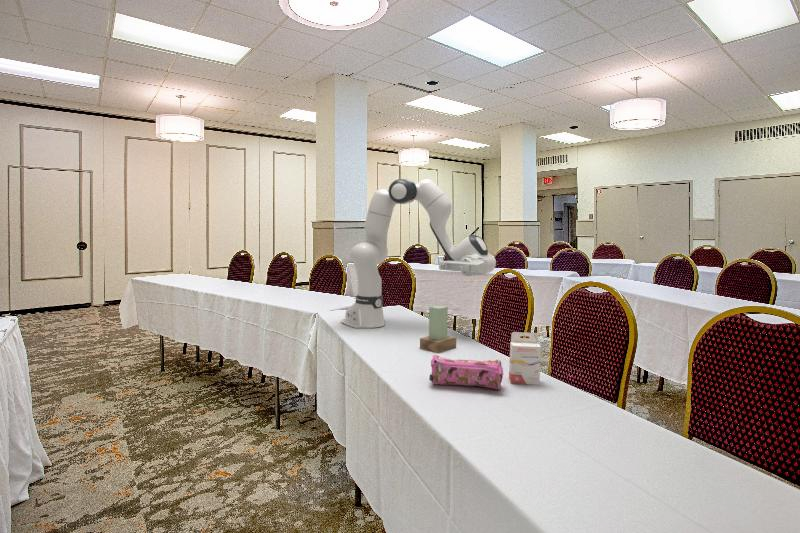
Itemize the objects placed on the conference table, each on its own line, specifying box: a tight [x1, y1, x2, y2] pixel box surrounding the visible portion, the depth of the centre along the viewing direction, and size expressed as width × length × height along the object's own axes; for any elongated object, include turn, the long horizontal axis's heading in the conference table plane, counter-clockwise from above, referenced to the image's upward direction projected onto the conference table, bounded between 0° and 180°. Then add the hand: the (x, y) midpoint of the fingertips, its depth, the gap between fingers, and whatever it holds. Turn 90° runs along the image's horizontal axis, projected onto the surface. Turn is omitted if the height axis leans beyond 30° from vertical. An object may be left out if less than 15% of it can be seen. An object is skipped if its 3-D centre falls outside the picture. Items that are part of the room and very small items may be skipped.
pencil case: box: [428, 354, 504, 390], centre depth 139 cm, size 21×9×9 cm, turn 75°
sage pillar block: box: [428, 305, 449, 340], centre depth 181 cm, size 5×5×12 cm
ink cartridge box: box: [508, 331, 542, 386], centre depth 143 cm, size 9×5×15 cm, turn 84°
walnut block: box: [419, 335, 457, 354], centre depth 181 cm, size 9×11×4 cm
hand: (450, 267), depth 190 cm, fingers open, 8 cm apart
